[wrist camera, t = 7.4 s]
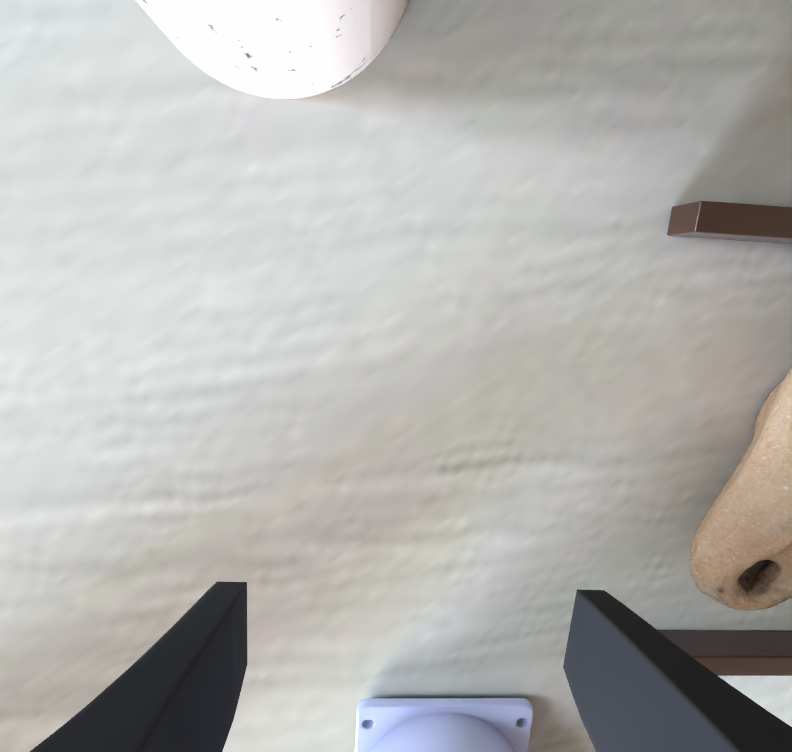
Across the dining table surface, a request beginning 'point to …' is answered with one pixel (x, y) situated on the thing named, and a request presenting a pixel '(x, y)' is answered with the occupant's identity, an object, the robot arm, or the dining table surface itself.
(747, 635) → the walnut bay
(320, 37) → the teacup with lid
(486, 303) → the dining table surface
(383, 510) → the dining table surface
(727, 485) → the pottery oil lamp
